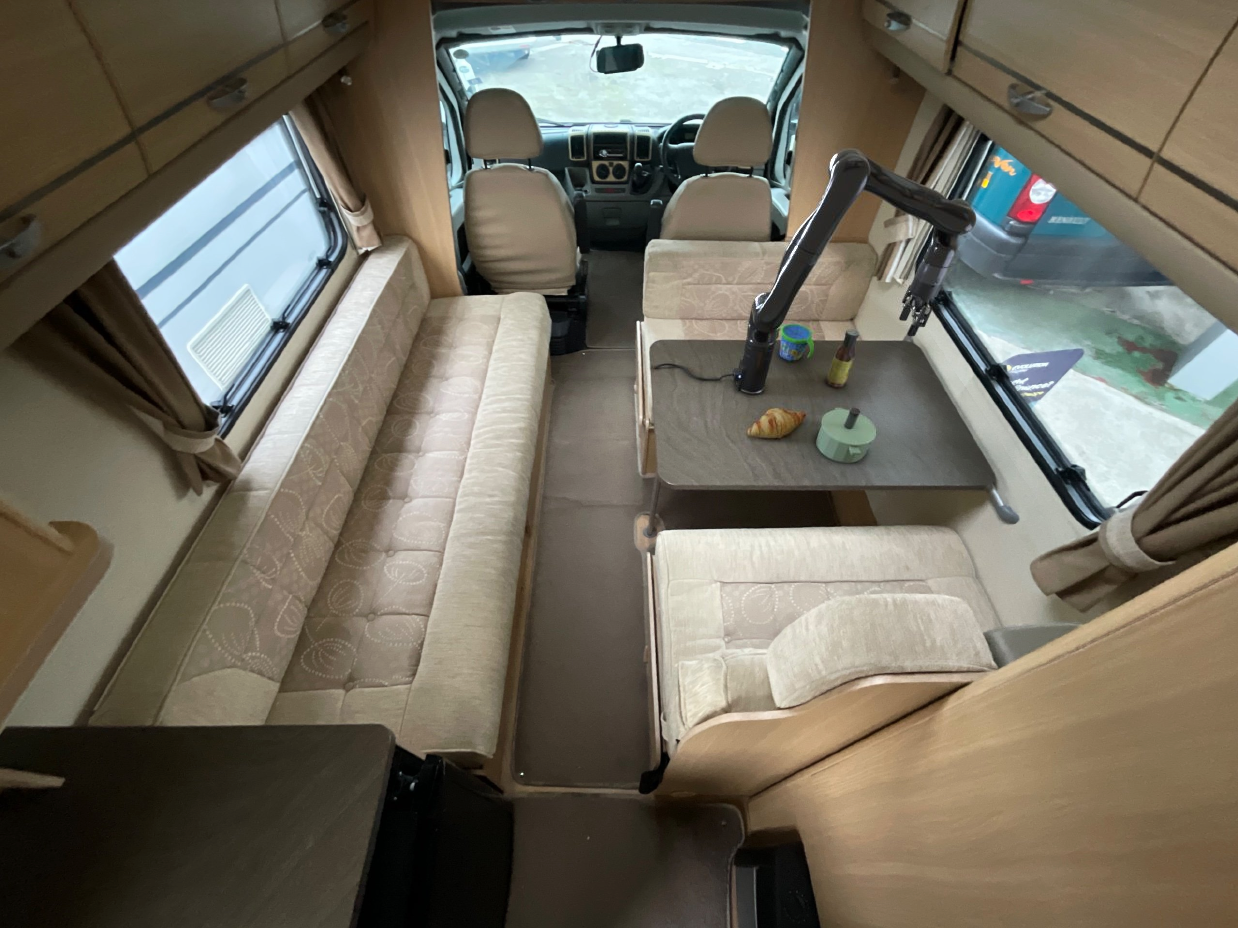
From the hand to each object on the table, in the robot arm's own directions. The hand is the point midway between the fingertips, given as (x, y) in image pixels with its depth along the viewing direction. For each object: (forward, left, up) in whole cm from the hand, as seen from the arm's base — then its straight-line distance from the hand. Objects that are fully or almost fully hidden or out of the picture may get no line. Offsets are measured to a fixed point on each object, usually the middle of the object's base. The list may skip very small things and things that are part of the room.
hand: (906, 327), depth 167 cm
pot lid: (-17, -24, -20) cm, 35 cm away
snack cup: (-24, +24, -28) cm, 44 cm away
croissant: (-36, -17, -28) cm, 48 cm away
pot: (-17, -24, -28) cm, 40 cm away
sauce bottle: (-11, +8, -28) cm, 31 cm away
